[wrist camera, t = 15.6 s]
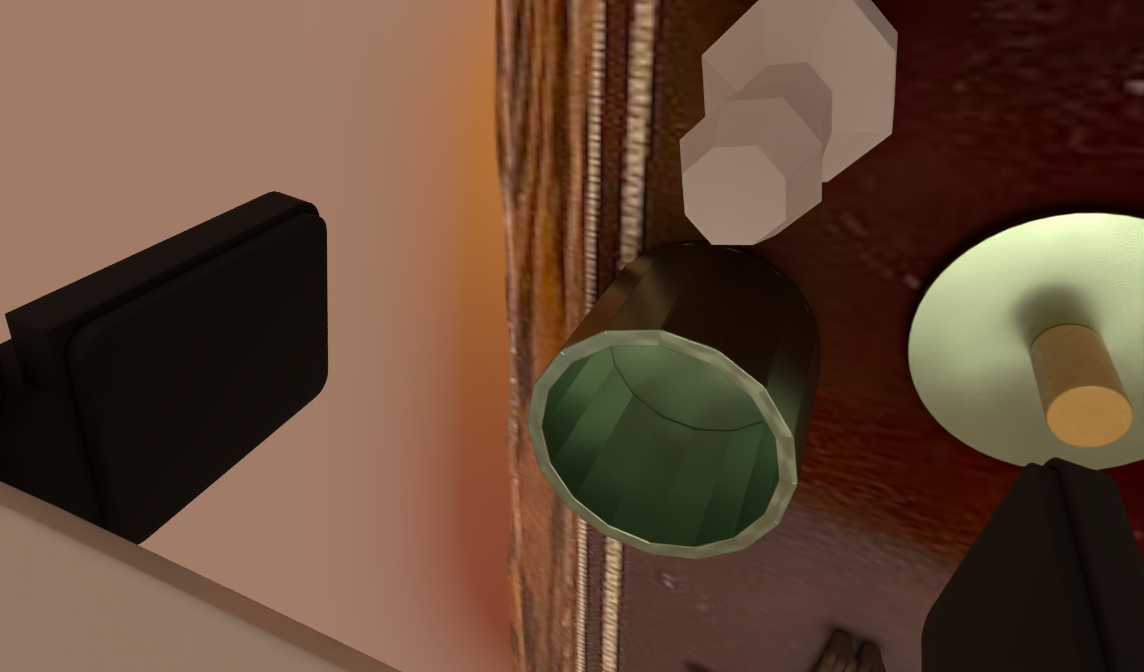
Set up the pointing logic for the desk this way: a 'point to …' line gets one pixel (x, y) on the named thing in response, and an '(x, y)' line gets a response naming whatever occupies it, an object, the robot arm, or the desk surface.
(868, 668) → the brown thin branching figure
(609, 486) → the tin
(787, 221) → the low poly bottle
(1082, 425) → the lid
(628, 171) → the desk surface
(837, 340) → the desk surface
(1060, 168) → the desk surface
